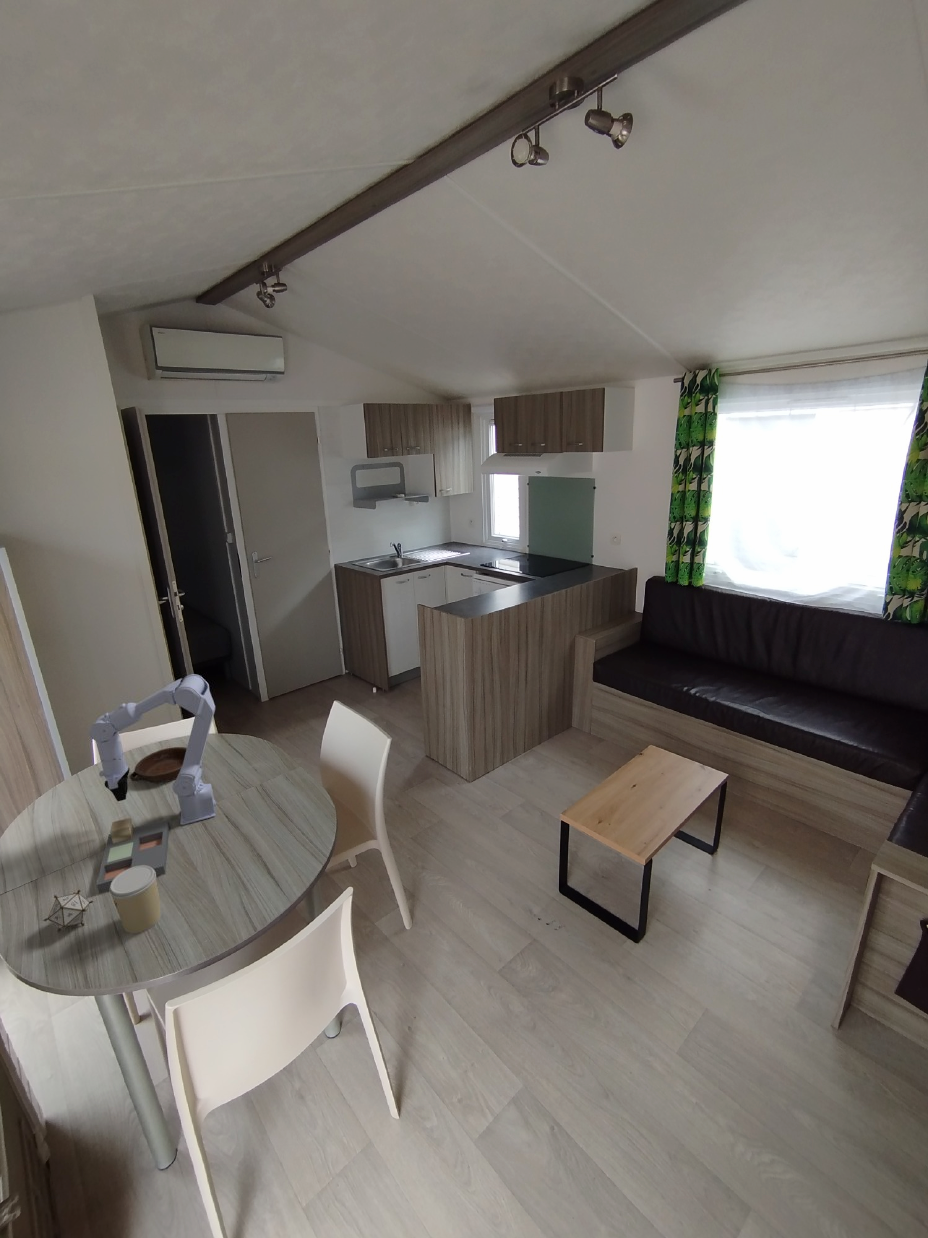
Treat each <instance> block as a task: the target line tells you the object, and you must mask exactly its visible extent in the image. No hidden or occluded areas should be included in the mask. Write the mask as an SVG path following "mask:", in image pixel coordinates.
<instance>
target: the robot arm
mask: <svg viewBox="0 0 928 1238" xmlns="http://www.w3.org/2000/svg"><path fill="white" fill-rule="evenodd" d="M164 704H170V705H172V706H176V704H177V705H178V706H179V707H181V708H183V709H185V710H186V711H188V712H190V713H192V714H193V715H194V719H193V724H192V727H191V732H190V734H189V735H190V736H189V738H188V742H187V746H186V748H187V750H186V754H185V758H184V762H183V765H182V767H181V770H180V772H179V774H178V776H177V778H175V779H174V781H173V783H172V791H173V793H174V794H175V795H177V798H178V799H177V800H178V803H179V807H180V826H184V825H187V824H191V823H196V822H199V821H202V820H207V819H211V818H215V817H216V806H217V802H216V799H215V798H214V797H215V796H214V791H213V787H212V784H211V783H204V782H203V781H202V779H201V777H202V775H203V773H204V768H203V765H202V763H203V756H204V753H205V749H206V745H207V741H208V737H209V733H210V730H211V726H212V722H213V719H214V715H215V711H216V705H215V702H214V699H213V697H212V693H211V691H210V685H209V683H208V682H207V681H206V679H204V678H203V677H202V675H199V674H195V673H192V674H189V675H186V676H185V677H184V678H179V679H177V680H175V681H173V682H171V683H170V684H168V685H166V686H165V687H163V688H161V689H159V690H158V691H157V692H154V693H153V694H151V695H149V696H147V697H146V698H144V699H142V700H141V701H139V702H137V703H136V702H128V703H124V702H123V703H121V704H120V705H119V706H118V708H117V709H115V710H113V711H110V712H106V713H104V714H103V715H100V716H99V717H98V718H97V719H96V720H95V721H94V723H92V725H91V726H90V728H89V731H88V735H89V736H90V738H91V739H92V740H94V741H95V743H96V748H97V752H98V755H99V760H100V762H101V768H102V770H101V771H99V774H98V776H99V777H104V778H105V781H104V787H105V788H106V789H108V790H109V791H110V792H111V793H112V794H113V796H114V798H115V800H116V802H121V801H122V802H123V801H125V800H126V799H127V794H128V786H129V785H128V781H129V780H128V777H129V773H130V770H131V769H130V767H129V765H128V764H127V761H126V757H125V752H124V748H123V745H122V740H121V736H120V732H121V731H123V730H125V729H126V728H128V727H130V726H132V725H134V724H136V723H139V722H140V721H141V720H142V718H143V716H144V714H145V713H148V712H149V711H152V710H154V709H156V708H158V707H160V706H162V705H164Z"/></svg>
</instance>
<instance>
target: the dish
mask: <svg viewBox="0 0 928 1238" xmlns="http://www.w3.org/2000/svg"><path fill="white" fill-rule="evenodd" d="M186 750H187V747H184V746H175V747H167V748H163V749H159V750H156V751H155V752H152V753H150V754H147V756H144V757H143V758H141V760H139V762H137V764H136V765H135V766H134V771H133V772H132V773H131V774H130V775H129V778H130V780H131V781H132V782H140V781H143V782H147V783H150V784H158V783H159V784H161V783H166V782H169V781H172V780H176V778H177V776H178V774H179V772H180V770H181V767H182V765H183V762H184V758H185V754H186Z"/></svg>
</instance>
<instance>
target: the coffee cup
mask: <svg viewBox="0 0 928 1238" xmlns="http://www.w3.org/2000/svg"><path fill="white" fill-rule="evenodd" d="M108 891H109V894H110V896H111V898H112V901H113V904H114V907H115V908H116V910H117V913H118V914H117V915H119V918H120V922H121V924H122V926H123V928H124V930H125V931H126V932H127V933H129V934H139V933H143V932H145V931H148V930H149V929H150V928H152V927H154V926H155V925H156V924H157V923H158V922H159V920H160V919H161V915H162V911H161V910H162V909H161V903H160V901H161V900H160V895H159V888H158V881H157V876H156V872H155V870H154V869H152V868H151V867H149V866H145V865H141V866H135V867H132V868H129V869H127V870H125V871H123V872H122V873H120V874H119V875H117V876H116V877H115V878H114V880H113V881H112V883H111V885H110V889H109V890H108Z"/></svg>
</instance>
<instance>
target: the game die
mask: <svg viewBox="0 0 928 1238" xmlns="http://www.w3.org/2000/svg"><path fill="white" fill-rule="evenodd" d="M80 892H81V889H78V890H77V891H75V892H73V893H71V894H66V895H62V896H57V895H53V898H54V899H55V900H54V903H53V905H52V907H51V910H50V912H49V914H48V917H47V918H44V919H43V920H42V921H43V922H47V921H49V922H51V923H52V924H53V925H54V926H56V927H57V928H58V929H57V933H60V931H61V929H62V931H64V930H65V929H66V928H69V927H73V926H77V925H81V926H85V923H84V919H85V916H86V915H87V912H88V909H89V907H90V904H93V903H94V900H90V901H89V900H88V899H86V898H85V897H84V896H83V895H82V894H80Z"/></svg>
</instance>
